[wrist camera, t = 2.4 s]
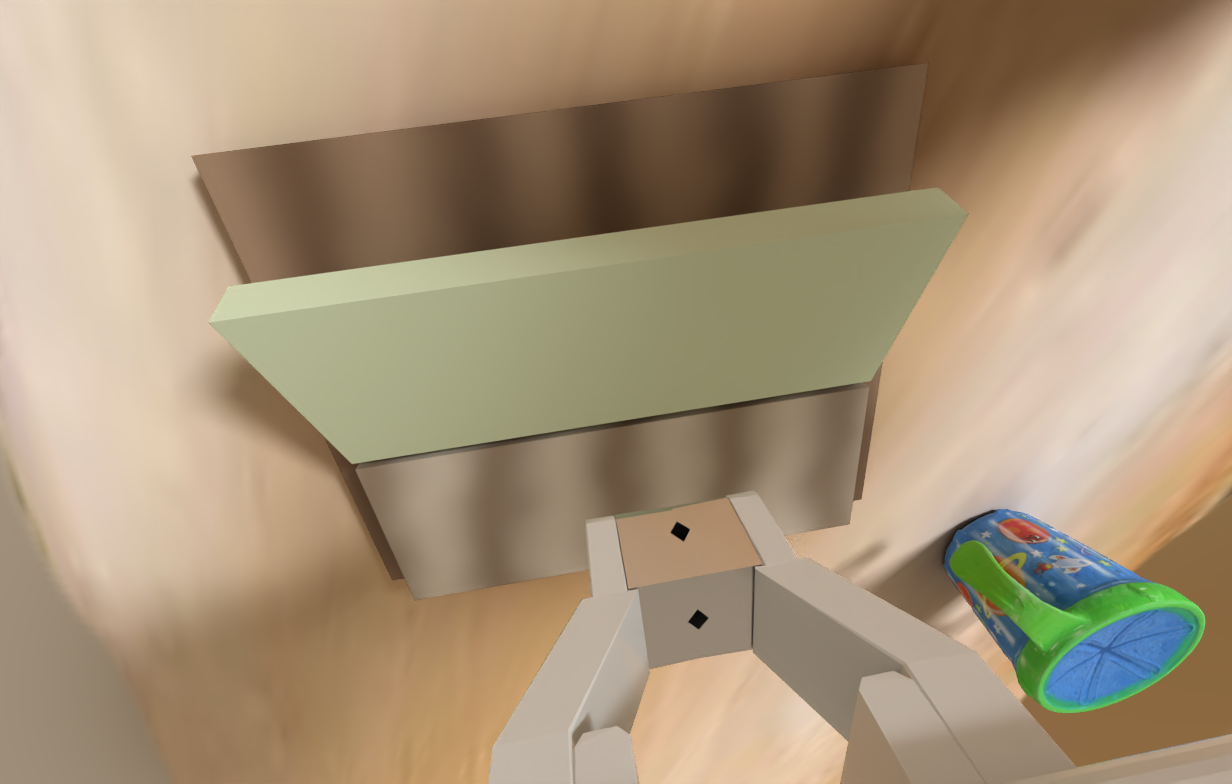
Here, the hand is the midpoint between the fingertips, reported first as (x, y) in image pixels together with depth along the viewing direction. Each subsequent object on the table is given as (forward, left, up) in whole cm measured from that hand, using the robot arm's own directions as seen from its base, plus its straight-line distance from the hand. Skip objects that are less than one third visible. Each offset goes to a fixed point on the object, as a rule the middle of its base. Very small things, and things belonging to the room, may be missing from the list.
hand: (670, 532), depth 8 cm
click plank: (0, +1, -15) cm, 15 cm away
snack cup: (-28, +25, -19) cm, 42 cm away
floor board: (0, +4, -19) cm, 19 cm away
